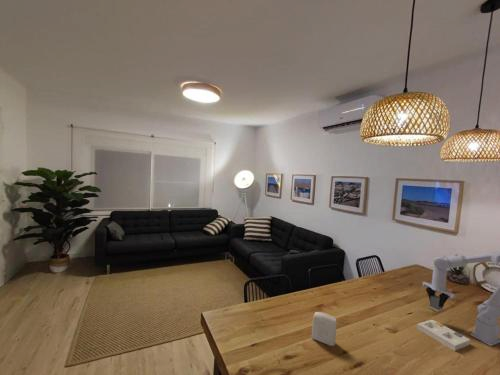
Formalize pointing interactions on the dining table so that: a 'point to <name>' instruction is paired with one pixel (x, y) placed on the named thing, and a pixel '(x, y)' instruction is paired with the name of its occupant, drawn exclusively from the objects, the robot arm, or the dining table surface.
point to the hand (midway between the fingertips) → (436, 304)
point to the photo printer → (324, 328)
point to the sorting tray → (443, 334)
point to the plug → (435, 304)
